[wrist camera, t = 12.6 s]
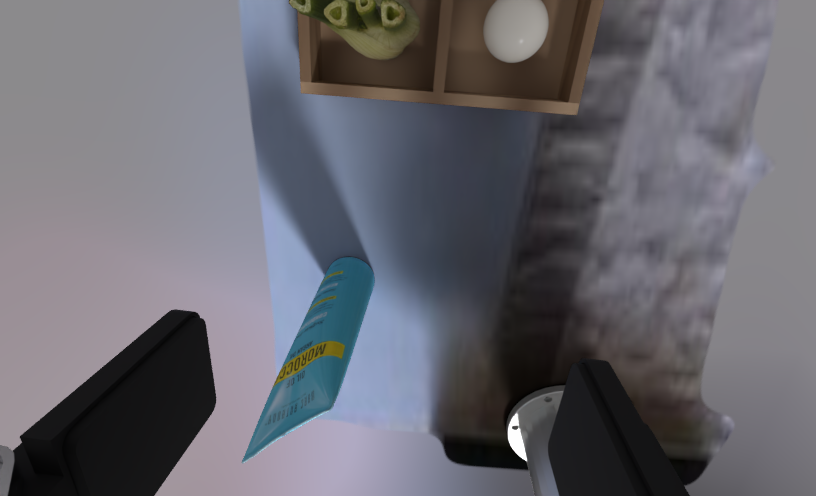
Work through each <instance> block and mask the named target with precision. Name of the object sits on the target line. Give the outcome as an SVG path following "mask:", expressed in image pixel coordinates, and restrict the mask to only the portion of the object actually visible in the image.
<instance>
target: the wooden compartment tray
mask: <svg viewBox="0 0 816 496" xmlns="http://www.w3.org/2000/svg"><path fill="white" fill-rule="evenodd" d="M408 1H409V3H410V5H411V6H412V8H413V9H414V10H415V12H416V14H417V15H418V17H419V19H420V31H419V33H418V36H417V37H416V38H415V39H414V41H413V42H411V43H410V44H409V45H408V46H406V47H405V49H404V51H403V52H402V54H401V55H399V56H398V57H397V58H395V59H390V60H378V59H371V58H368V57H366V56H364V55H362V54H361V53H359V52H358V51H356V50H355V49H354V48H353V47H351V46H350V45H349V43H348V42H347V41H346V40H344V39H343V38H342V37H341V36H340V35H339V34H337V33H336V32H335V31H333V30H332V29H331V28H330V27H328V26H327V25H326V24H325V23H323V22H321V21H319V20H317V19H314V18H311V17H309V16H306V15H303V14H300V13H299V12H298V11H297V13H298V36H299V59H300V82H301V93H305V94H318V95H331V96H343V97H356V98H368V99H381V100H393V101H406V102H418V103H431V104H444V105H456V106H469V107H481V108H494V109H506V110H519V111H531V112H544V113H556V114H569V115H577V112H578V108H579V103H580V99H581V95H582V91H583V87H584V82H585V78H586V74H587V70H588V66H589V62H590V57H591V53H592V49H593V45H594V41H595V37H596V32H597V28H598V24H599V20H600V16H601V11H602V7H603V3H604V0H541V1H542V2H543V3H544V5H545V7H546V9H547V12H548V18H549V27H548V32H547V35H546V38H545V40H544V42H543V44H542V46H541V47H540V48H539V50H538V51H537V52H536V53H535V54H534V55H532V56H531V57H529V58H528V59H526V60H524V61H521V62H516V63H507V62H503V61H501V60H499V59H497V58H495V57H494V56H493V55H492V54H491V53H490V52H489V50H488V48H487V47H486V44H485V41H484V36H483V26H484V21H485V18H486V15H487V13H488V11H489V9H490V8H491V6H492V5H493V4H494V3H495V1H496V0H408Z"/></svg>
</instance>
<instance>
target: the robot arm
mask: <svg viewBox="0 0 816 496" xmlns="http://www.w3.org/2000/svg"><path fill="white" fill-rule="evenodd" d="M215 404H216V393H215V386H214V379H213V372H212V365H211V359H210V352H209V345H208V337H207V331H206V324H205V321H204V320H203V319H202V318H200V316H199V315H198V313H196V312H191V311H183V310H171V311H169V312H168V313H167V314H166V315H165V316H163V317H162V318H161V319H160V320H158V321H157V322H156V323H155V324H154V325H153V326H151V327H150V328H149V329H148V330H146V331H145V332H144V333H143V334H142V335H140V336H139V337H138V338H137V339H136V340H135V341H134V342H132V343H131V344H130V345H129V346H127V347H126V348H125V349H124V350H123V351H122V352H120V353H119V354H118V355H117V356H115V357H114V358H113V359H112V360H111V361H109V362H108V363H107V364H106V365H105V366H104V367H102V368H101V369H100V370H99V371H97V372H96V373H95V374H94V375H93V376H92V377H90V378H89V379H88V380H87V381H86V382H84V383H83V384H82V385H81V386H80V387H78V388H77V389H76V390H75V391H74V392H72V393H71V394H70V395H69V396H68V397H66V398H65V399H64V400H63V401H62V402H60V403H59V404H58V405H57V406H56V407H55V408H53V409H52V410H51V411H50V412H49V413H47V414H46V415H45V416H44V417H43V418H41V419H40V420H39V421H38V422H37V423H35V424H34V425H33V426H32V427H31V428H30V429H28V430H27V431H26V432H25V433H24V434H23V435H21V436H20V438H21V441H22V443H21V444H20V445H19V446H18V447H17V448H15V449H14V450H13V451H12V450H11V449H9V448H8V447H6V446H1V445H0V496H154V495H155V494H156V492H157V491H158V489H159V488H160V487H161V485H162V484H163V482H164V481H165V479H166V478H167V477H168V475H169V474H170V472H171V471H172V469H173V468H174V467H175V465H176V464H177V462H178V461H179V459H180V458H181V457H182V455H183V454H184V452H185V451H186V450H187V448H188V447H189V445H190V444H191V442H192V441H193V440H194V438H195V437H196V435H197V434H198V432H199V431H200V430H201V428H202V427H203V425H204V424H205V422H206V421H207V420H208V418H209V417H210V415H211V414H212V412H213V410H214V408H215ZM506 431H507V436H508V440H509V443H510V446H511V447H512V448H513V450H514V451H515V452H516V453H517V454H518V455H519V456H520V457H521V458H523V459H524V460H526V461H527V464H528V468H529V473H530V477H531V482H532V486H533V491H534V495H535V496H690V495H689V494H688V492H687V491H686V489H685V487H684V485H683V483H682V482H681V480H680V478H679V477H678V475H677V473H676V472H675V470H674V468H673V466H672V465H671V463H670V461H669V460H668V458H667V456H666V454H665V453H664V451H663V449H662V448H661V446H660V444H659V443H658V441H657V439H656V437H655V436H654V434H653V432H652V431H651V429H650V428H649V427H648V425H646V424H645V423H643V421H642V419H641V417H640V416H639V414H638V412H637V410H636V409H635V407H634V405H633V404H632V402H631V400H630V398H629V397H628V395H627V393H626V391H625V390H624V388H623V386H622V384H621V383H620V381H619V379H618V377H617V376H616V374H615V372H614V371H613V369H612V367H611V365H610V364H609V363H608V362H607V361H603V360H594V359H586V358H582V359H581V360H580V361H579V363H578V364H577V363H574V364H572V366H571V368H570V372H569V375H568V378H567V382H566V385H561V386H553V387H547V388H544V389H541V390H538V391H535V392H533V393H531V394H529V395H528V396H526V397H525V398H523V399H522V400H521V401H519V402H518V403H517V404H516V405H515V407H514V408H513V409H512V411H511V412H510V414H509V416H508V419H507V425H506Z"/></svg>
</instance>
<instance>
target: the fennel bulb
mask: <svg viewBox="0 0 816 496" xmlns="http://www.w3.org/2000/svg"><path fill="white" fill-rule="evenodd" d="M289 4H290V5H291V6H292V7H293V8H295V9H296V10H297V11H298V12H299V13H300V14H303V15H306V16H309V17H311V18H314V19H317V20H319V21H321V22H323V23H325V24H326V25H327V26H328V27H330V28H331V29H332V30H333V31H335V32H336V33H337V34H339V35H340V36H341V37H342V38H343V39H344V40H346V41H347V42H348V43H349V45H350V46H351V47H353V48H354V49H355V50H356V51H358V52H359V53H361V54H362V55H364V56H366V57H368V58H371V59H378V60H390V59H395V58H397V57H398V56H399V55H401V54H402V52H403V51H404V49H405V47H406V46H408V45H409V44H410V43H411V42H413V41H414V39H415V38H416V37H417V36H418V33H419V31H420V19H419V17H418V15H417V14H416V12H415V10H414V9H413V8H412V6H411V5H410V3H409V1H408V0H289Z"/></svg>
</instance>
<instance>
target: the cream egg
mask: <svg viewBox="0 0 816 496" xmlns="http://www.w3.org/2000/svg"><path fill="white" fill-rule="evenodd" d="M548 27H549V18H548V12H547V9H546V7H545V5H544V3H543V2H542V1H541V0H496V1H495V3H494V4H493V5H492V6H491V8H490V9H489V11H488V13H487V15H486V18H485V21H484V26H483V36H484V41H485V44H486V47H487V48H488V50H489V52H490V53H491V54H492V55H493V56H494V57H495V58H497V59H499V60H501V61H503V62H507V63H516V62H521V61H524V60H526V59H528V58H529V57H531V56H532V55H534V54H535V53H536V52H537V51H538V50H539V48H540V47H541V46H542V44H543V42H544V40H545V38H546V35H547V32H548Z"/></svg>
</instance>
